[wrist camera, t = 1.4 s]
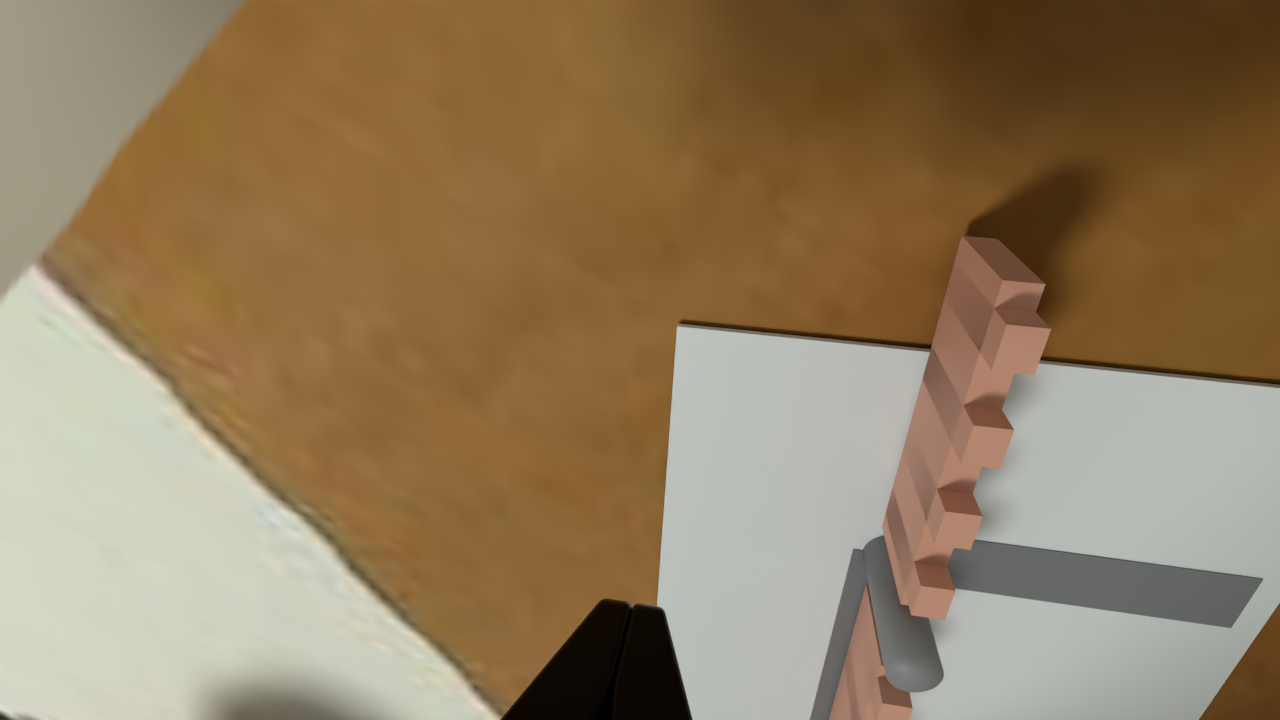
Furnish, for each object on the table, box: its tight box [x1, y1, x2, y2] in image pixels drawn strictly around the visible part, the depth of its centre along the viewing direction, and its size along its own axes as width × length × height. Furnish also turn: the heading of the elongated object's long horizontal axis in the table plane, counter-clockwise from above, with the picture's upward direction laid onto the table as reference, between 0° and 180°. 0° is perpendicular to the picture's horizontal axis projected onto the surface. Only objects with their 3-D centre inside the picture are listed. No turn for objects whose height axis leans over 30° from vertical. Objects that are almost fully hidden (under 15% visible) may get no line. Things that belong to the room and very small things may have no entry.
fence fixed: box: [829, 536, 944, 720], centre depth 21 cm, size 11×1×4 cm, turn 178°
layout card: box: [657, 323, 1280, 720], centre depth 22 cm, size 20×18×1 cm
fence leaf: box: [882, 236, 1051, 620], centre depth 16 cm, size 9×1×4 cm, turn 178°
